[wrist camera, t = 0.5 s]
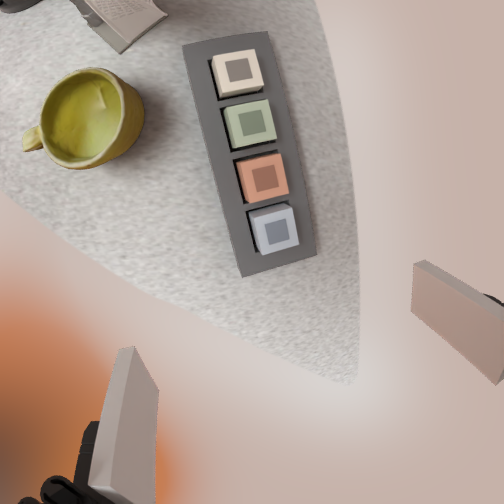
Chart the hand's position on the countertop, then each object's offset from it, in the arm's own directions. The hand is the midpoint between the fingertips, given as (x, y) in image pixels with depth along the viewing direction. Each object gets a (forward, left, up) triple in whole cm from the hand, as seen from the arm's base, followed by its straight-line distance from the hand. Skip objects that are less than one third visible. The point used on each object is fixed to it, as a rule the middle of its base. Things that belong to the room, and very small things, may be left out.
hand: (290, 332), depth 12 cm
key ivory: (-15, +4, -21) cm, 26 cm away
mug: (-15, -12, -22) cm, 29 cm away
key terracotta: (-4, +4, -21) cm, 21 cm away
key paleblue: (+1, +4, -21) cm, 21 cm away
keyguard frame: (-7, +4, -22) cm, 23 cm away
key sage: (-10, +4, -21) cm, 23 cm away
